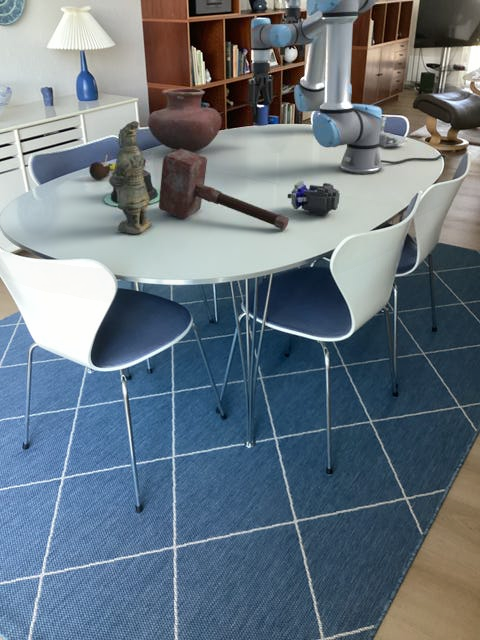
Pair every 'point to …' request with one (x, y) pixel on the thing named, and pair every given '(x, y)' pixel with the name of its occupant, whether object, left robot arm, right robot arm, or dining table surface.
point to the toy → (315, 198)
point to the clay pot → (185, 121)
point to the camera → (387, 136)
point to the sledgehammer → (200, 190)
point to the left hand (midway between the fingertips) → (291, 55)
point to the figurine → (102, 169)
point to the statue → (131, 182)
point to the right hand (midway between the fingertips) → (260, 121)
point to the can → (262, 115)
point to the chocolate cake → (152, 192)
